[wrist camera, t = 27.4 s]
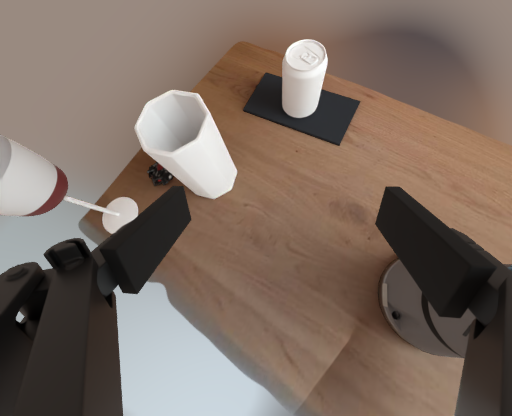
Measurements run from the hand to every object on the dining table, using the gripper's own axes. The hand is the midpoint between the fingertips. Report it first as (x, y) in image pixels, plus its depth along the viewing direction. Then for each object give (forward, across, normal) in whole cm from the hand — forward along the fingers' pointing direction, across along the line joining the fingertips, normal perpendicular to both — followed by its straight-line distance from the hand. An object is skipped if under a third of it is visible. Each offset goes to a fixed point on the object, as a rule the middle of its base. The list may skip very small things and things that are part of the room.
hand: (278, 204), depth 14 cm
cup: (+30, -15, -9) cm, 35 cm away
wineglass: (+23, -36, -16) cm, 46 cm away
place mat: (+42, +4, +3) cm, 43 cm away
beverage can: (+42, +4, +4) cm, 42 cm away
